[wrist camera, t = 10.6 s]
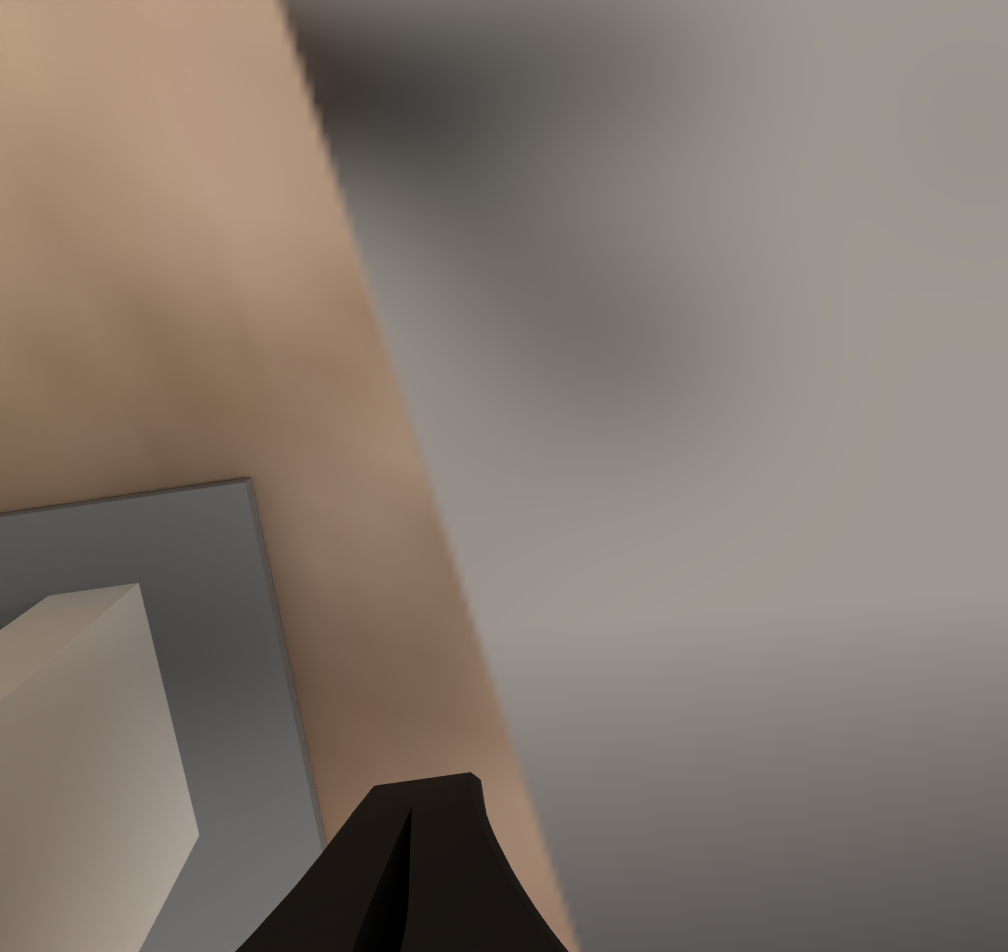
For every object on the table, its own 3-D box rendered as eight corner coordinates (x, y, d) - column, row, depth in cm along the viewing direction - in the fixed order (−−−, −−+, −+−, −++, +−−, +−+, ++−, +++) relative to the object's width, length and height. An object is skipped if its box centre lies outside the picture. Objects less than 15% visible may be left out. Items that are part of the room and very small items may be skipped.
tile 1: (139, 582, 16) (-130, 812, 9) (199, 834, 17) (2, 1215, 10) (48, 595, 16) (-289, 835, 9) (115, 847, 17) (-141, 1235, 10)
